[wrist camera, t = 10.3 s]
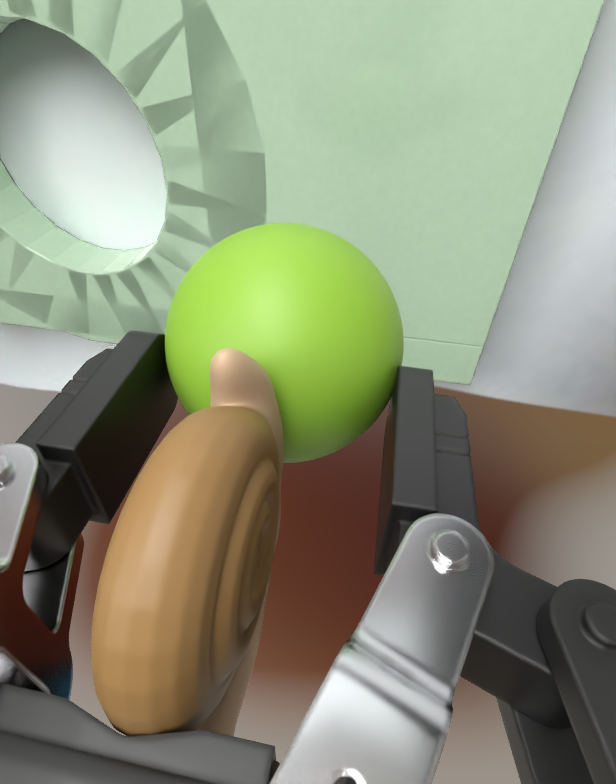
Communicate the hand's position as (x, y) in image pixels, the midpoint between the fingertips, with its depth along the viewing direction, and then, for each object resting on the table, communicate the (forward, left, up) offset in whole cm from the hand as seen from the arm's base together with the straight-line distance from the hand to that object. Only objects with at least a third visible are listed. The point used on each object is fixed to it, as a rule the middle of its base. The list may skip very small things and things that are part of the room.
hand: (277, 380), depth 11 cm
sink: (0, -8, -16) cm, 18 cm away
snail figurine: (0, 0, -4) cm, 4 cm away
